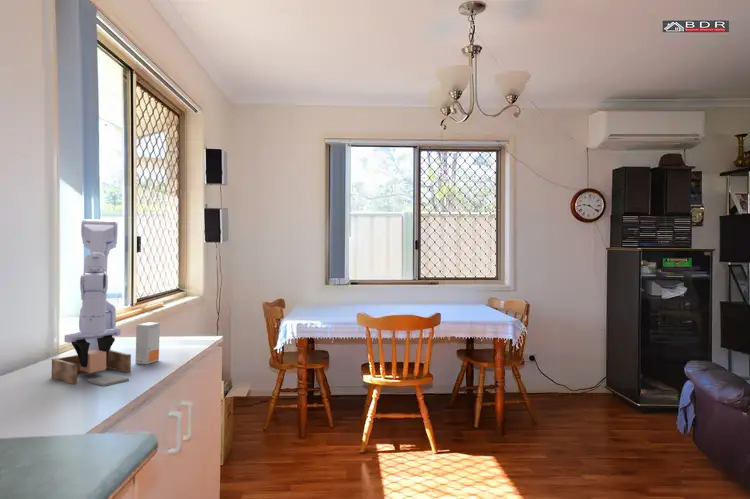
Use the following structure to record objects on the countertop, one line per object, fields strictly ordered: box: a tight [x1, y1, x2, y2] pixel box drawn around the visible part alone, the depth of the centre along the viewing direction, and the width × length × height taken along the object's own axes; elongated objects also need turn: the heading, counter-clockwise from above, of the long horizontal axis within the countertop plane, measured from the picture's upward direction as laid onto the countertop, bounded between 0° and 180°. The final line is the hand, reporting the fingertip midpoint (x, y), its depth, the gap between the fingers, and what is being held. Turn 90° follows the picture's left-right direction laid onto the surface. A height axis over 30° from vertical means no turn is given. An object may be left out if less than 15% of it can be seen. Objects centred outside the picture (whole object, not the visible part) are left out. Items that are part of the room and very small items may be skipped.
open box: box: [51, 349, 132, 385], centre depth 144 cm, size 11×16×5 cm
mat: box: [88, 373, 130, 387], centre depth 138 cm, size 7×7×1 cm
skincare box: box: [135, 321, 161, 365], centre depth 160 cm, size 6×4×12 cm
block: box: [80, 350, 107, 374], centre depth 143 cm, size 5×4×5 cm
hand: (93, 364), depth 143 cm, fingers closed on block, 4 cm apart
